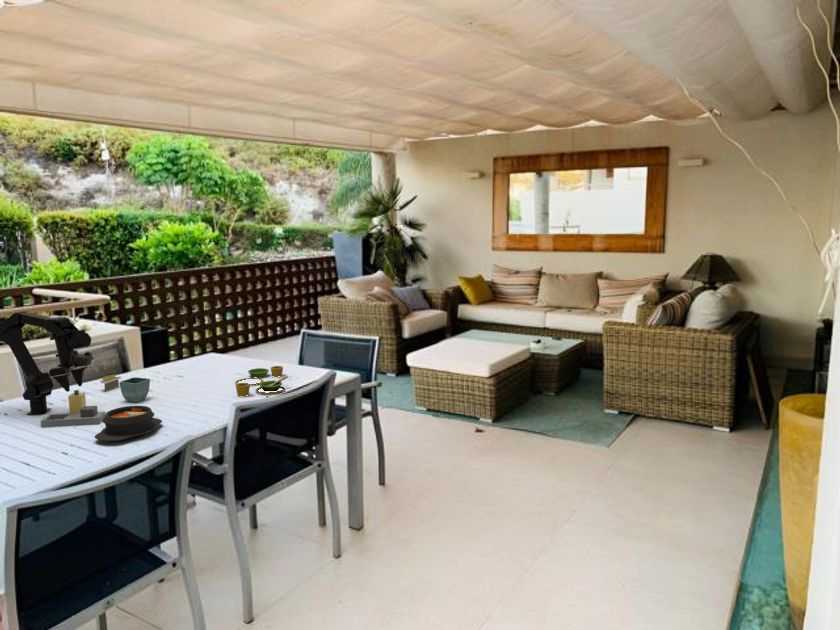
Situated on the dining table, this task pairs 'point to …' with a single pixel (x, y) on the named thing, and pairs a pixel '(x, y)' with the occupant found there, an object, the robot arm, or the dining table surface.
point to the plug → (76, 401)
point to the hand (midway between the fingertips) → (74, 388)
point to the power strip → (74, 418)
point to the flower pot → (135, 389)
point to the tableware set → (267, 385)
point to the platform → (110, 382)
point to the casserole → (127, 423)
